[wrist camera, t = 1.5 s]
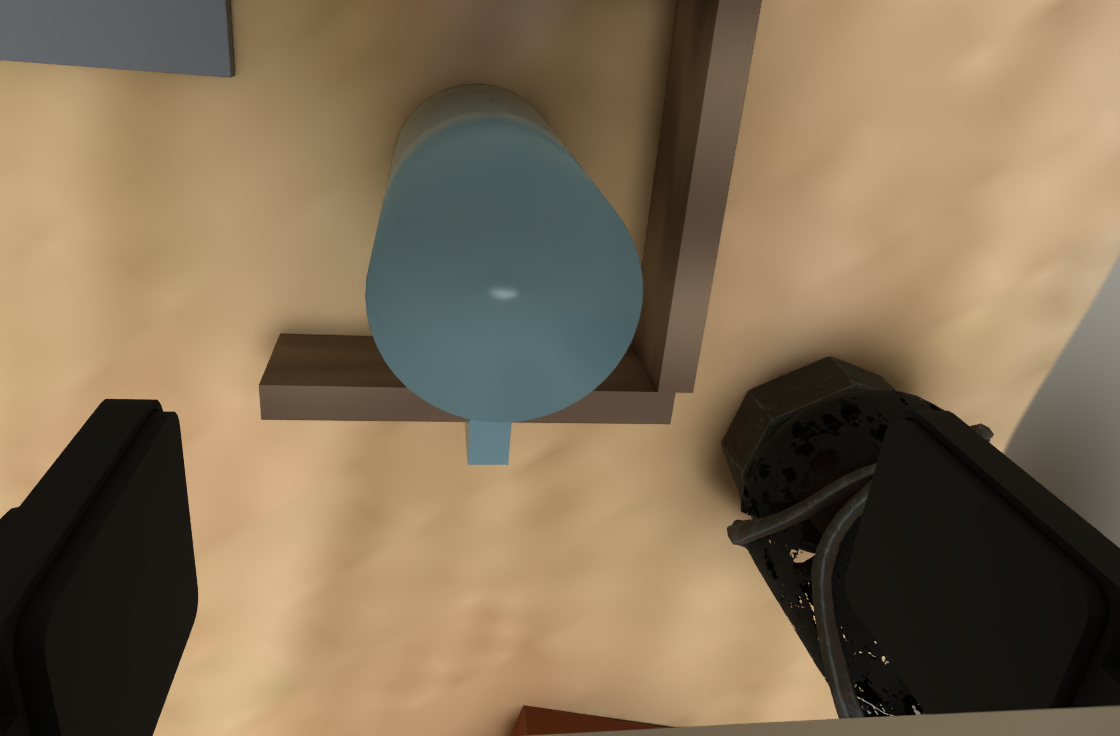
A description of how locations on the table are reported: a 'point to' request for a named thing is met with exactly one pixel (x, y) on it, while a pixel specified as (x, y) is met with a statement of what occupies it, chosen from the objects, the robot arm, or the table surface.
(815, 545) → the lantern
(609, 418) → the brown u-shaped frame
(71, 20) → the coaster
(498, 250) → the jug
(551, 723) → the miniature building
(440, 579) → the table surface
